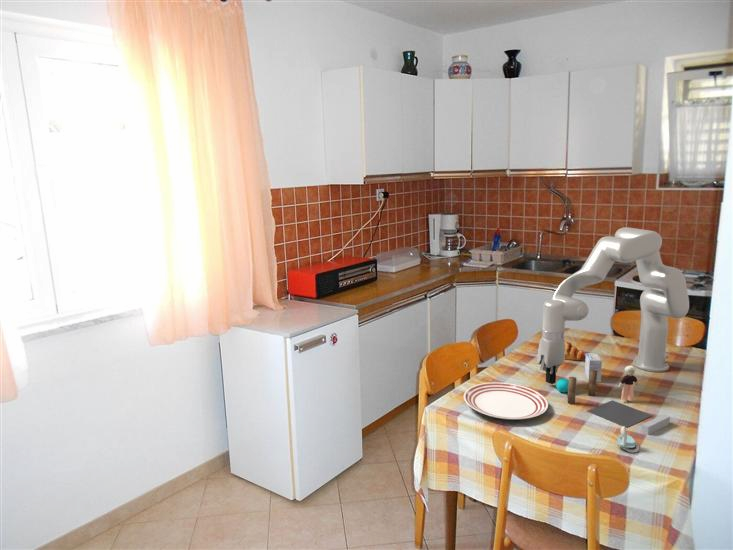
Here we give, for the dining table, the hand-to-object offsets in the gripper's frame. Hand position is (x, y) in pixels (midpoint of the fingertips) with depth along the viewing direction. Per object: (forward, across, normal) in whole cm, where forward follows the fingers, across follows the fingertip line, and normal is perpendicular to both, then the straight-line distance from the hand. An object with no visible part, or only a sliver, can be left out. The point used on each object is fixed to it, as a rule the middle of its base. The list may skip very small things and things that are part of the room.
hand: (550, 382), depth 199 cm
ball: (-1, 0, +6) cm, 6 cm away
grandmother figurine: (+2, -11, +23) cm, 26 cm away
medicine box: (+2, -19, +4) cm, 20 cm away
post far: (+1, +6, +13) cm, 14 cm away
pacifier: (+2, +17, +41) cm, 45 cm away
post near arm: (+1, -6, +13) cm, 14 cm away
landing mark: (+1, 0, +27) cm, 27 cm away
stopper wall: (+1, 0, +39) cm, 39 cm away
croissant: (+2, -30, -18) cm, 35 cm away
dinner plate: (+2, +26, +2) cm, 26 cm away
